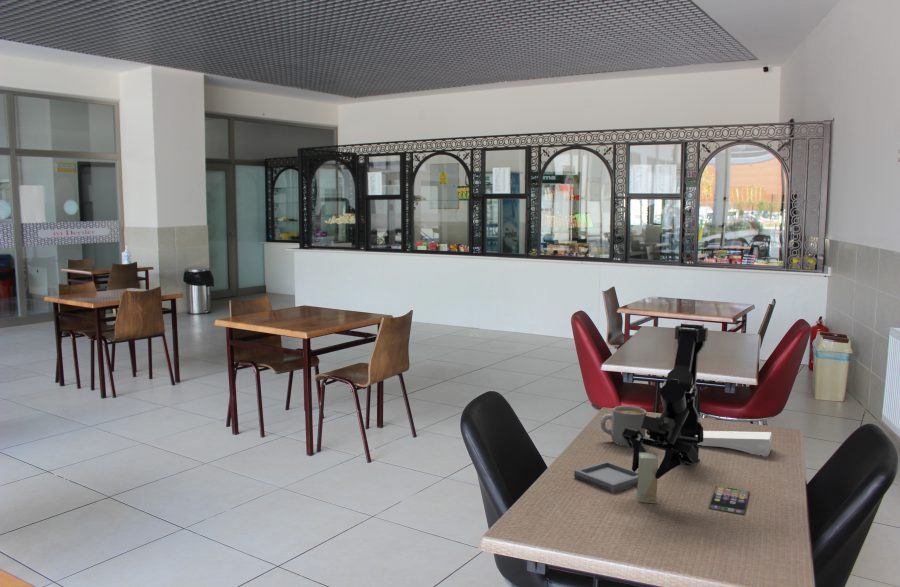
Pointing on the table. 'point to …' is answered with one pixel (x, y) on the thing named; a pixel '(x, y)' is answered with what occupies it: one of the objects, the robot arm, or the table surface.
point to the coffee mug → (623, 422)
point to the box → (647, 477)
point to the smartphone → (729, 500)
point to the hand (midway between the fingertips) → (644, 474)
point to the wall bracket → (739, 441)
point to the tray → (608, 476)
